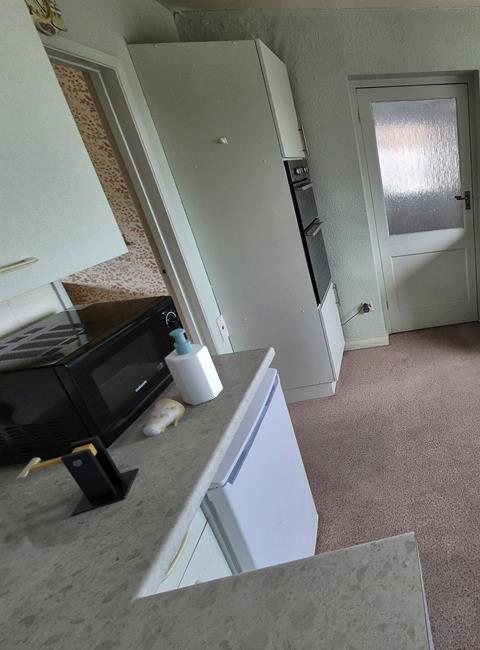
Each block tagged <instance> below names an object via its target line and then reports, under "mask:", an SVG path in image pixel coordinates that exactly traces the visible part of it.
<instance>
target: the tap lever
mask: <svg viewBox="0 0 480 650" xmlns="http://www.w3.org/2000/svg"><path fill="white" fill-rule="evenodd" d="M89 448H90V449H91V451H92V453H93V454H94V456H95V455H96V453H97V451H96V449H95V448H94V446H93V445H92V443H91V444H88V445H84V446H81V447H78V448H75V449H74V451H73V450H72V452H71V453H74V452H78V451H81V450H85V449H89ZM61 458H62V456H59V457H56V458H53V459H49V460H46V461H42V458H41V457H33V458H32V459H31V460H30V461H29V462H28V463H27V465H25V467H24V468H23V470H22V471H21V472H20V473H19V474H18V475H17V477H16V478H15V481H16V483H18V484H22V483H24V482H27V480H28V479H29V477H30V476H31V475H32V473H35V472H38V471H42V470H45V469H49V468H51V467H55V466H57V465H62V464H64V463H63V462H62V461H61Z"/></svg>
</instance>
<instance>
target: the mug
mask: <svg viewBox="0 0 480 650" xmlns="http://www.w3.org/2000/svg"><path fill="white" fill-rule="evenodd" d="M185 412H186V408H185V407H184V406H183V404H181V403H180V402H178V401H176V400H173V399H171V398H160V399H159V400H158V401H156V402H155V404H154V405H153V407H152V409H151V412H150V416H149V420H148V422H146V425H145V426H144V427H143V430H142V431H143V434H144V435H145V436H147V437H155V436H157V435H160V434H165V433H166V432H165V431H166V428H167V427H169V426H171V425H172V424H173V428H175V427H177V426H178V423H179V421H180V419H181V418H182V416H183V415H184V414H185Z"/></svg>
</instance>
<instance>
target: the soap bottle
mask: <svg viewBox="0 0 480 650" xmlns="http://www.w3.org/2000/svg"><path fill="white" fill-rule="evenodd" d="M184 333H186V330H185V329H184V328H176V329H174V330H172V331H170V333H168V334H169V336H170V337H173V339H174V340H175V343H173V347H174V350H172V352H170V353H169V354H168V355H167V356H165V357H164V362H165V364H166V366H167V368H168V370H169V372H170V374H171V377H172V379H173V381H174V383H175V385H176V387H177V390H178V391H179V394H180V396H181V398H182V400H183V402H184V403H186V404H189V405H192V406H199V405H201V403H202V404H204V403H208V402H210V401H213V400H215V399H216V398H217V396H219V394H220V393H221V392H222V390H223V389H224V386H223V385H222V382H221V380H220V377H219V375H218V371H217V370H216V367H215V364H214V362H213V360H212V357H211V354H210V352H209V350H208V347H207V346H206V345H204V344H198V343H192V342H191V341H190V339H186V337H185V334H184ZM215 397H216V398H215ZM214 398H215V399H214ZM212 399H213V400H212ZM209 400H210V401H209ZM198 404H199V405H198Z"/></svg>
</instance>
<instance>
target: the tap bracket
mask: <svg viewBox="0 0 480 650" xmlns="http://www.w3.org/2000/svg"><path fill="white" fill-rule="evenodd" d="M91 443H92V445H93V446H94V448H95V449H96V451H97V453H96V455H95V456H94V454H93V453H92V451H91V449H90V448H89V449H85V450H81V451H78V452H74V453H72V452H73V451H74V449H75V448H78V447H81V446H84V445H88V444H91ZM70 448H71V449H72V452H70V453H67V454H63V455H62V456H61V457H62V458H61V461H62V462H63V463H62V464H63V465H64V466H65V468H66V469H67V471H68V472H69V474H70V475H71V478H73V480H74V481H75V483H76V484H77V486H78V487H79V489H80V490H81V492H82V497H81V498H80V501H79V502H78V503H77V505H76V507H75V509H74V510H73V512H72V514H71V516H72V517H74V516H78V515H80V514H84V513H87V512H90V511H93V510H96V509H99V508H102V507H106V506H109V505H111V504H115V503H117V502H121V501H124V500H126V499H127V497H128V494H129V492H130V490H131V488H132V486H133V483H134V481H135V479H136V478H137V475H138V473H139V470H140V468H139V467H137V468H134V469H130V470H127V471H124V472H121V470H119V468H118V466H117V465H116V463H115V462H114V460H113V458H112V456H111V455H110V453H109V452H108V450H107V448H106V447H105V444H104V443H103V442H102V440H101V438H100V437H99V435H96V436H91V437H88V438H84V439H80V440H77V441H74V442H72V443H71V444H70Z"/></svg>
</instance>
